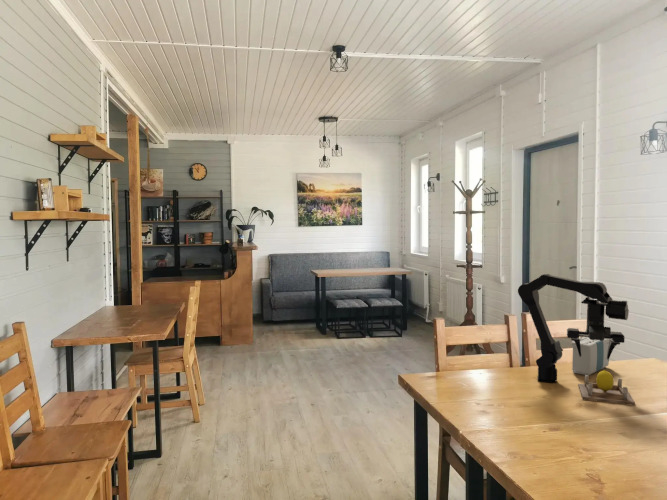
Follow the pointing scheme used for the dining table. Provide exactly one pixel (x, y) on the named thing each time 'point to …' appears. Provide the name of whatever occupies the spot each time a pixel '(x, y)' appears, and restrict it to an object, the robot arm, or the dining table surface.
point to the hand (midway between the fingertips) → (593, 358)
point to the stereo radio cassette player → (590, 356)
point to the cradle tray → (605, 393)
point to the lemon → (604, 380)
